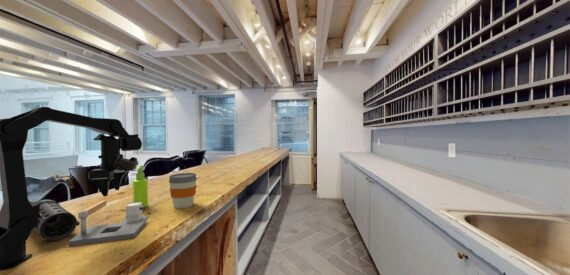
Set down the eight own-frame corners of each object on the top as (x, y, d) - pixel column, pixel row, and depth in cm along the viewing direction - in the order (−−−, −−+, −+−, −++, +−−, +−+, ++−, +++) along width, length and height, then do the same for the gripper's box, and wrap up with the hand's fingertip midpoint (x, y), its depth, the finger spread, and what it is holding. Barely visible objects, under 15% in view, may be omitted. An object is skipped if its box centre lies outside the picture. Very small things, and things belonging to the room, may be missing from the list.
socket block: (134, 237, 74) (133, 218, 74) (68, 246, 69) (68, 225, 69) (145, 224, 86) (145, 207, 86) (90, 230, 81) (89, 212, 81)
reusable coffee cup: (197, 207, 105) (196, 176, 105) (167, 210, 101) (167, 178, 101) (197, 200, 117) (196, 172, 117) (170, 203, 112) (170, 174, 112)
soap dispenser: (130, 209, 103) (129, 167, 103) (136, 205, 110) (135, 165, 109) (144, 208, 105) (144, 166, 104) (149, 204, 111) (148, 164, 111)
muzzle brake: (78, 237, 77) (34, 244, 69) (58, 220, 93) (20, 224, 85) (84, 209, 79) (41, 213, 70) (63, 197, 94) (27, 199, 86)
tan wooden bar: (107, 205, 89) (107, 200, 89) (85, 218, 74) (85, 212, 74) (100, 205, 88) (100, 200, 88) (76, 219, 74) (76, 213, 74)
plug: (143, 221, 88) (143, 204, 88) (125, 223, 86) (125, 206, 86) (147, 217, 92) (147, 201, 92) (130, 218, 91) (129, 203, 91)
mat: (142, 223, 86) (142, 222, 86) (118, 226, 84) (118, 225, 84) (148, 216, 94) (148, 215, 94) (127, 218, 92) (127, 217, 92)
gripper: (125, 153, 77) (126, 197, 77) (143, 150, 94) (144, 186, 95) (86, 154, 73) (87, 200, 74) (112, 150, 91) (113, 188, 92)
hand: (111, 193), depth 83 cm, fingers open, 9 cm apart
